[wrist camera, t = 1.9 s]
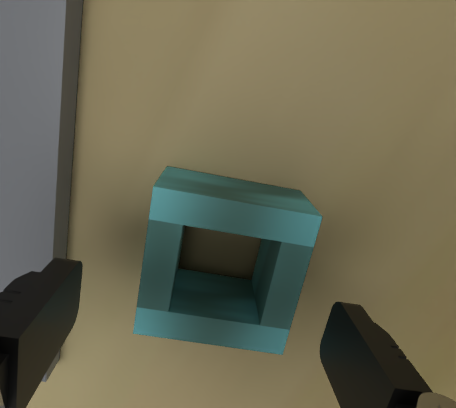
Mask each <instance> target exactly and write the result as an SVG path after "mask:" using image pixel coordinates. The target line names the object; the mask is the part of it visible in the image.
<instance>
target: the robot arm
mask: <svg viewBox="0 0 456 408" xmlns="http://www.w3.org/2000/svg"><path fill="white" fill-rule="evenodd" d="M81 279H82V262H81V261H75V260H69V259H62V258H54V259H52V261H51V262H50V263H49V264H48V265H47V266H46V267H45V268H44V269H43V270H42V271H41V272H35V271H31V272H28V273H26V274H24V275H22V276H20V277H18V278H15V279H14V280H13V281H12V282H11V283H10V284H9V285H8V286H7V287H6V288H5V289H3V292H0V408H26V406H27V405H28V403H29V401H30V399H31V398H32V396H33V394H34V393H35V391H36V389H37V387H38V386H39V384H40V382H41V381H42V379H43V377H44V375H45V374H46V372H47V370H48V369H49V367H50V365H51V364H52V362H53V360H54V358H55V357H56V355H57V353H58V352H59V350H60V348H61V346H62V345H63V343H64V341H65V340H66V338H67V336H68V335H69V333H70V331H71V329H72V328H73V325H74V323H75V320H76V317H77V314H78V309H79V300H80V289H81ZM320 358H321V362H322V364H323V367H324V369H325V372H326V374H327V376H328V379H329V381H330V383H331V386H332V388H333V391H334V393H335V395H336V398H337V400H338V402H339V405H340V407H341V408H456V402H455V401H454V400H452V399H450V398H448V397H446V396H443V395H441V394H437V393H433V392H432V390H431V389H430V388H429V386H428V385H427V384H426V382H425V381H424V380H423V378H422V377H421V376H420V374H419V373H418V372H417V370H416V369H415V368H414V366H413V365H412V364H411V362H410V361H409V360H407V359H406V356H405V354H404V353H403V352H402V351H401V349H399V348H398V345H397V344H396V343H395V341H394V340H393V339H392V337H391V336H390V335H389V334H388V333H387V332H386V331H385V330H383V329H382V328H381V327H380V326H379V325H377V324H376V323H374V322H373V321H372V320H371V318H370V317H369V316H368V314H367V313H366V311H365V310H364V309H363V307H362V306H361V305H357V304H350V303H344V302H336V303H335V304H334V305H333V307H332V309H331V313H330V316H329V319H328V322H327V325H326V328H325V331H324V334H323V337H322V340H321V344H320Z"/></svg>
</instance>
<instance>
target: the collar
mask: <svg viewBox="0 0 456 408" xmlns="http://www.w3.org/2000/svg"><path fill="white" fill-rule="evenodd" d="M321 220H322V215H321V214H320V213H319V212H318V211H317V210H316V208H315V207H314V206H313V205H312V204H311V203H310V201H309V200H308V199H307V198H306V197H305V196H304V194H303V193H302V192H301V191H299V190H294V189H289V188H283V187H278V186H272V185H267V184H261V183H256V182H251V181H245V180H240V179H234V178H229V177H223V176H218V175H212V174H207V173H202V172H196V171H191V170H185V169H180V168H174V167H169V166H167V167H166V169H165V170H164V171H163V173H162V174H161V176H160V177H159V179H158V180H157V182H156V183H155V185H154V186H153V192H152V199H151V206H150V214H149V221H148V228H147V236H146V243H145V250H144V258H143V265H142V272H141V279H140V287H139V294H138V301H137V309H136V316H135V323H134V331H133V334H140V335H147V336H154V337H161V338H168V339H175V340H182V341H189V342H196V343H204V344H211V345H218V346H225V347H232V348H239V349H246V350H253V351H260V352H267V353H274V354H281V355H283V351H284V348H285V344H286V341H287V337H288V334H289V331H290V327H291V324H292V320H293V317H294V313H295V310H296V306H297V303H298V300H299V296H300V293H301V289H302V286H303V282H304V279H305V276H306V272H307V269H308V265H309V262H310V258H311V255H312V251H313V248H314V245H315V241H316V238H317V234H318V231H319V227H320V224H321ZM185 225H186V226H192V227H197V228H203V229H209V230H215V231H221V232H227V233H233V234H238V235H244V236H250V237H256V238H262V239H261V243H260V247H259V252H258V256H257V260H256V264H255V268H254V272H253V276H252V280H248V279H241V278H235V277H229V276H223V275H216V274H210V273H204V272H198V271H191V270H185V269H179V268H178V265H179V259H180V253H181V247H182V242H183V236H184V230H185Z"/></svg>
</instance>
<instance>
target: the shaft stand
mask: <svg viewBox="0 0 456 408" xmlns="http://www.w3.org/2000/svg"><path fill="white" fill-rule="evenodd" d="M82 8H83V0H0V292H3V289H5V288H6V287H7V286H8V285H9V284H10V283H11V282H12V281H13V280H14V279H15V278H18V277H20V276H22V275H24V274H26V273H28V272H31V271H35V272H41V271H42V270H43V269H44V268H45V267H46V266H47V265H48V264H49V263H50V262H51V261H52V259H54V258H62V259H66V252H67V237H68V222H69V206H70V191H71V176H72V161H73V145H74V130H75V115H76V100H77V85H78V69H79V54H80V39H81V24H82ZM59 359H60V350H59V352H58V353H57V355H56V357H55V358H54V360H53V362H52V364H51V365H50V367H49V369H48V370H47V372H46V374H45V375H44V377H43V379H42V381H44V382H46V381H47V379H48V378H49V376H50V374H51V372H52V371H53V369H54V367H55V366H56V364H57V362H58V361H59Z"/></svg>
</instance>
